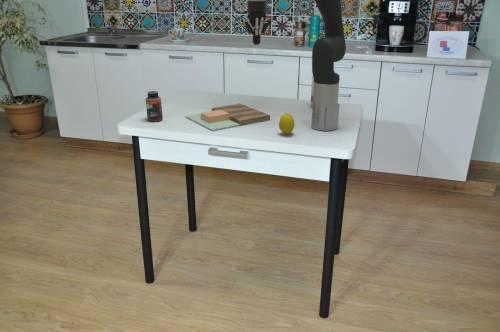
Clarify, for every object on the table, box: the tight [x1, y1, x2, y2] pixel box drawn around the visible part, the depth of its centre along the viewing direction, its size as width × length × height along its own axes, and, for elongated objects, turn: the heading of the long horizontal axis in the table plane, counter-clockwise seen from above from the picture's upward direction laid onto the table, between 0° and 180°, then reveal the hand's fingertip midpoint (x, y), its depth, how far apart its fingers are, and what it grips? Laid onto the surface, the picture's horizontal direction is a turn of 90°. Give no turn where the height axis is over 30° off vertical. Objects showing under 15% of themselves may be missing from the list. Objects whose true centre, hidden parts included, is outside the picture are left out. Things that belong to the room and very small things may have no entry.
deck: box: [211, 103, 271, 127], centre depth 192 cm, size 22×14×2 cm, turn 34°
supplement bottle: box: [145, 90, 164, 123], centre depth 185 cm, size 6×6×11 cm
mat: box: [184, 112, 241, 132], centre depth 185 cm, size 22×12×1 cm, turn 34°
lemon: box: [278, 112, 296, 135], centre depth 169 cm, size 6×6×8 cm
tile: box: [200, 110, 230, 123], centre depth 185 cm, size 7×9×2 cm
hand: (256, 44), depth 193 cm, fingers closed
